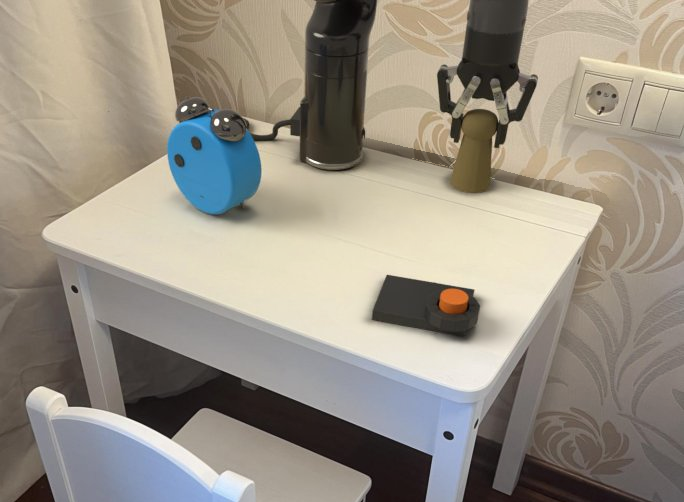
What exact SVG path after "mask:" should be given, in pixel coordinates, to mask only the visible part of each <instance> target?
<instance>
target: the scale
mask: <svg viewBox="0 0 684 502" xmlns="http://www.w3.org/2000/svg"><path fill="white" fill-rule="evenodd" d="M446 289H459V290H462V291H464V292H465V293H466V294H467V295H468V304H467V309H466V311H465V312H464V313H463V314H456V315H453V314H448V313H445V312H443V311H441V310H440V308H439V302H440V295H441V293H442V292H443V291H444V290H446ZM475 291H476V290H475V288H469V287H464V286H463V287H462V286H456V285H451V284H445V283H441V282H434V281H428V280H421V279H415V278H409V277H403V276H398V275H391V274H386V275H385V278H384V280H383V283H382V286H381V288H380V291H379V293H378V296H377V298H376V300H375V303H374V306H373V308H372V313H371V320H372V321H377V322H381V323H382V322H383V323H388V324H392V325H393V324H394V325H399V326H405V327H410V328H415V329H416V328H417V329H421V330H427V331H432V332H437V333H443V334H449V335H453V336H460V337H465V334H466V331H468V330H470V329H472V328H473V327H475V326H477V324H478V321H479V320H478V319H479V315H480V309H481V304H480V303H479V302H478V300H477V298H476V297H475Z"/></svg>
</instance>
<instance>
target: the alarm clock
mask: <svg viewBox="0 0 684 502" xmlns="http://www.w3.org/2000/svg"><path fill="white" fill-rule="evenodd" d="M174 117H175V120H176V122H179V121H181V122H179V123H178V124H176V125H175V126H174V127H173V128H172V130H171V131H170V133H169V136H168V140H167V146H166V152H167V153H166V155H167V161H168V167H169V169H170V172H171V176H172V178H173V180H174V182H175V184H176V186H177V188H178V189H179V191H180V192H181V194H182V195H183V196H184V198H185V199H186V200H187V201H188V203H190V204H191V205H192V206H193V207H194V208H196V209H197V210H199V211H201V212H203V213H205V214H208V215H220V214H223V213H225V212H227V211H229V210H231V209H233V208H234V207H236V206H238V205H240V207H241V209H245V208H246V207H245V202H246V201H248V200H250V199H251V198H252V197H253V196H254V195H255V194H256V193H257V191H258V189H259V187H260V184H261V180H262V171H263V169H262V160H261V155H260V152H259V149H258V146H257V144H256V142H255V140H253V138H252V136H251V134H252V133H251V132H250V131H249V130H247V127H246V122H245V120H244V118H245V117H243V116H242V115H241V114H240V113H239V112H238V111H236V110H234V109H231V108H222V109H214V108H212V107H211V106H210V104H209V102H208V101H207V100H206V99H204V98H203V97H200V96H193V97H188V95H187V96H185V100H182V101H181V102H180V103H179V104H178V105H177V106H176V109H175V113H174ZM185 119H186V120H185ZM182 120H183V121H182ZM250 133H251V134H250Z"/></svg>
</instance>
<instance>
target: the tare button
mask: <svg viewBox="0 0 684 502" xmlns="http://www.w3.org/2000/svg"><path fill="white" fill-rule="evenodd" d="M467 304H468V295H467V294H466V293H465V292H464V291H462V290H459V289H446V290H444V291H443V292H442V293H441V295H440V302H439V308H440V310H441V311H443V312H445V313H448V314H453V315H456V314H463V313H464V312H465V311H466V309H467Z"/></svg>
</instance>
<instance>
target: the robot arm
mask: <svg viewBox="0 0 684 502" xmlns="http://www.w3.org/2000/svg"><path fill="white" fill-rule="evenodd" d="M313 1H314V2H315V5H314V7H313V10H312V13H311V16H310V18H309V20H308V21H307V23H306V26H305V31H304V32H305V33H304V88H303V89H304V91H303V93H304V94H303V95H304V96H303V98H301V100H300V102H299V103H300V104H299V107H298V108H297V109H296V111H295V112H294V113H293V115H292V116H291V117H290V118H289V119H284V120H281V121H278V122H276V123H275V124H274V125H273V126H272V131H271V133H269V134H255V133H252V132H249V133H250V134H251V136H252V138H253V140H254V141H257V142H259V141H260V142H263V141H265V142H266V141H272V140H274V139H276V138H277V136H278V134H279V129H281V128H283V127H287V126H290V127H289V128H290V129H289V130H290V131H289V134H290V136H292V137H299V162H303V163H307V164H308V165H309V166H312V167H315V168H317V169H321V170H328V171H340V170H341V171H342V170H346V169H350V168H353V167H356V166H357V165H359V164H360V163H361V162H362V160H363V156H364V155H363V148H364V143H363V142H364V140H366V129H365V113H366V95H367V80H368V65H369V49H370V47H369V46H370V38H371V33H372V30H373V27H374V24H375V20H376V16H377V7H378V0H313ZM529 1H530V0H470V1H469V4H468V11H467V14H466V21H467V22H466V27H465V35H464V40H463V48H462V55H461V60H460V62H459V63H458V65H451V66H448V65H447V64H441V65H440V66H439V68H438V70H437V73H436V79H437V81H436V82H437V90H438V92H437V93H438V102H439V110H440V112H441V113H445V114H446V113H447V114H448V115H450V116H451V123H450V130H449V137H450V138H451V139H453V143H454V144H459V142H460V139H461V135H462V126H461V123H462V119H463V116H464V115H465V114H464V113H463V112H464V110H465V109H466V107H467V105H468V104H469V103H470V100H471V99H473V100H481V99H484V100H486V101H492V102H494V104H495V109H496V110H497V115H498V127H497V131H496V133H495V140H494V145H493V148H494V149H499V148H500V146H501V145H502V146H503V145H504V144H505V142H506V140H507V135H508V131H509V124H510V123H512V122H518V123H519V122H521V121H522V120H523V118H524V116H525V113H526V111H527V109H528V107H529V104H530V102H531V100H532V97H533V95H534V93H535V91H536V88H537V85H538V80H539V77H538V75H537V74H535V73H533V74H530V75H528V74H524V73H522V72H521V70H520V68H519V60H520V54H521V47H522V43H523V37H524V31H525V27H526V26H525V25H526V23H527V16H528V11H529ZM455 76H457V77H458V80H459V81H460V83H461V84H462V87H463V88H464V89H463V91H462V92H461V94H460V96H459V98H458V100H457V102H455V101H452V95H451V84H452V83H453V81H454V79H455ZM516 83H518V84H519V87H518V89H519V92H521V93H522V94H521V96H520V98H519V100H518V103H517V105H516V108H512V109H511V108H510V104H509V96H508V91H509V90H510V89H511V88H512V87H513V86H514V85H515V84H516ZM243 118H244V120H245V122H246V127H247V130H248V129H249V127H250V122H249V120H248V119H246V118H245V117H243ZM248 131H249V130H248Z"/></svg>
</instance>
